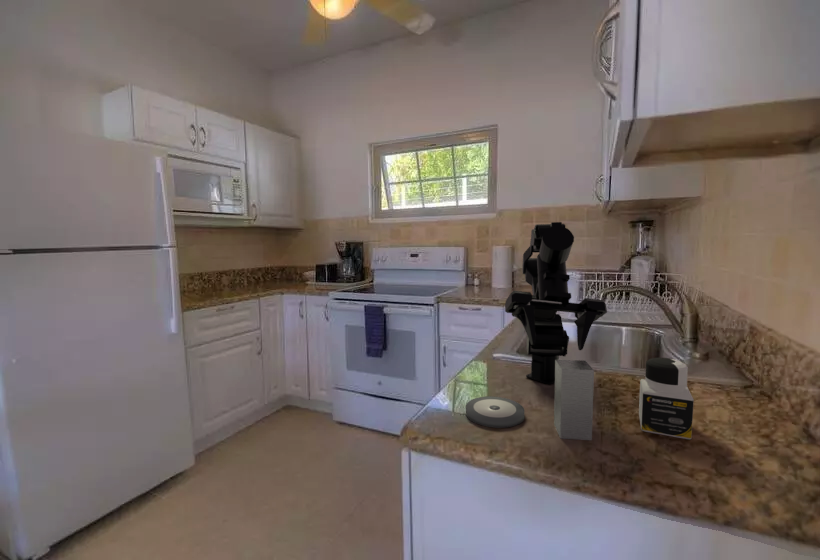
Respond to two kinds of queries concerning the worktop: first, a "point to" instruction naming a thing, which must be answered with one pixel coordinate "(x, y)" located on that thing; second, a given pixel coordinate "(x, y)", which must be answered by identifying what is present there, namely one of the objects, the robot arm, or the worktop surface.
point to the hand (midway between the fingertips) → (556, 347)
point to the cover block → (573, 399)
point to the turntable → (495, 412)
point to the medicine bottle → (666, 399)
